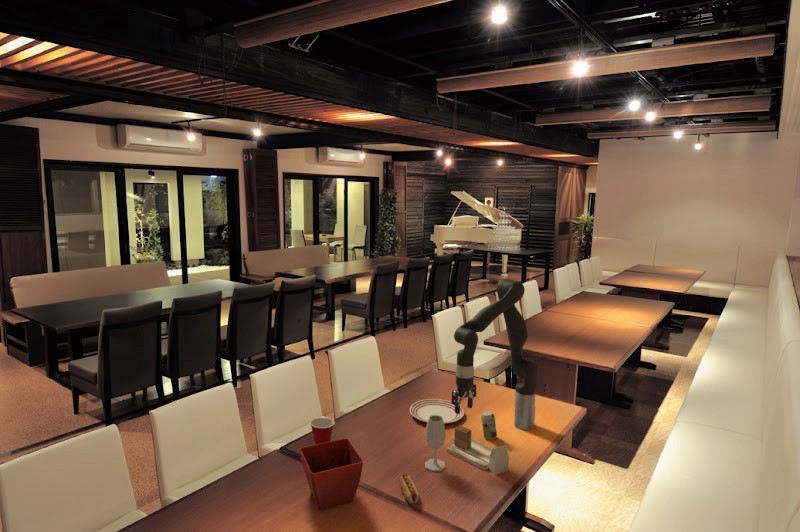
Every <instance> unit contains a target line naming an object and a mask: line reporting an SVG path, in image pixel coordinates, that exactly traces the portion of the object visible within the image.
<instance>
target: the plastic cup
mask: <svg viewBox="0 0 800 532" xmlns="http://www.w3.org/2000/svg"><path fill="white" fill-rule="evenodd" d="M309 425H310V427H311V431H312V436H313V441H314V445H316V444H320V443H325V442H330V441H332V440H331V439H332V434H333V428H334V425H335V420H333V419H332V418H328V417H317V418H316V417H315V418H313V419H310V422H309Z"/></svg>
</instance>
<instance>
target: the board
mask: <svg viewBox="0 0 800 532" xmlns="http://www.w3.org/2000/svg"><path fill="white" fill-rule="evenodd" d="M492 449H494V448H493V447H490V446H489V445H486V444H483V443H481V442H479V441H477V440H474V439H472V438H471V448H469V449H467V450H463V449H461V448H459V447H457V446H454V443H453V444H451V445H449V446H447V447H446V453H447V452H448V453H447V454H449V453H450V454H449V455H451V454H452V456H453V455H454V457H455V456H456V458H458V459H459V460H461V461H464V462H466V463H468V464H470V465H472V466H474V467H476V468H478V469H481V470H483V471H487V470H489V459H490V454H491V452H492Z"/></svg>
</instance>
